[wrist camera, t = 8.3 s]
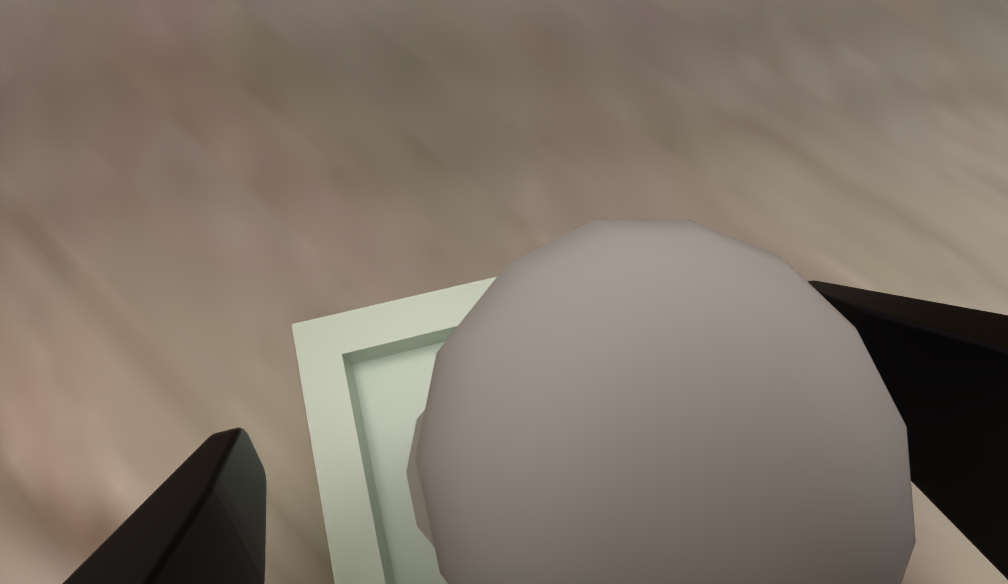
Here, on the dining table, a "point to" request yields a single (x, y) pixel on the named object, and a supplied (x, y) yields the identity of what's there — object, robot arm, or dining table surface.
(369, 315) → the tray
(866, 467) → the salt shaker
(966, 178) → the dining table surface
